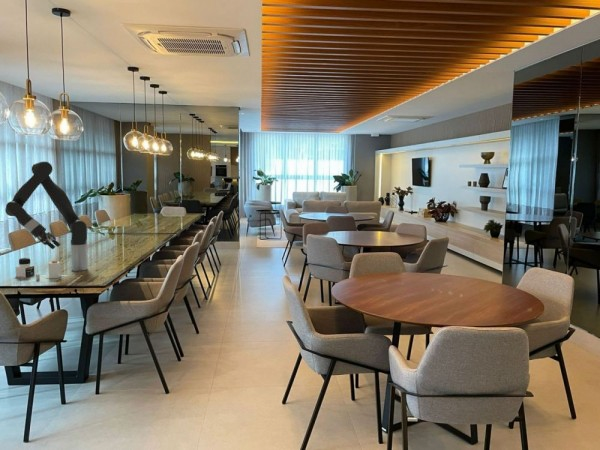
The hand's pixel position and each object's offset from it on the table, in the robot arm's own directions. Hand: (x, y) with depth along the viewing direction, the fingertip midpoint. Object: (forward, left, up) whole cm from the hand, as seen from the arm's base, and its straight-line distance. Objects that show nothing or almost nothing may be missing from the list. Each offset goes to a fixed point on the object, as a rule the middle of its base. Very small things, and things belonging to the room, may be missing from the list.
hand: (56, 246), depth 278 cm
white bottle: (0, -1, -18) cm, 19 cm away
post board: (+3, -4, -20) cm, 21 cm away
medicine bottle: (-3, -21, -20) cm, 29 cm away
